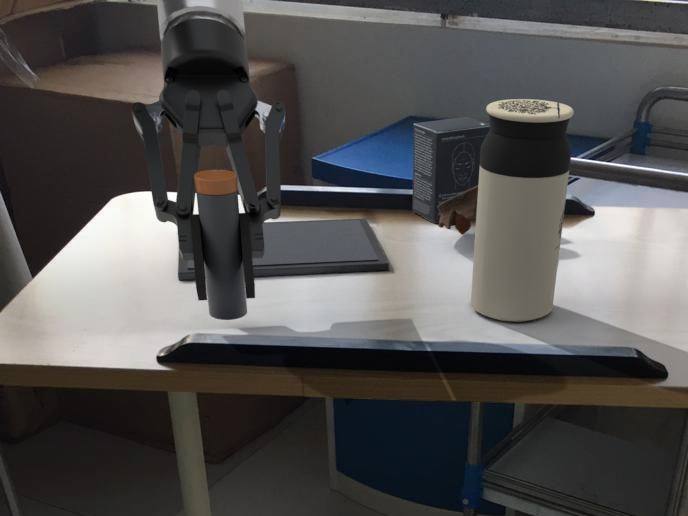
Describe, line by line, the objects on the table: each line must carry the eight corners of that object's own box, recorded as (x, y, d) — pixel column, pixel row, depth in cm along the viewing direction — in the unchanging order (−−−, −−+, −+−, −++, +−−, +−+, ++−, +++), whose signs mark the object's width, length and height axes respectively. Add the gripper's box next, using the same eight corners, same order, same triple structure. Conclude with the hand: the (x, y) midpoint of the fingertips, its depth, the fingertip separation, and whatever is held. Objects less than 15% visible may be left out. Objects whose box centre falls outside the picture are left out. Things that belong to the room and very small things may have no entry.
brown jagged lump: (481, 270, 96) (451, 197, 94) (445, 282, 105) (416, 214, 103) (567, 226, 100) (540, 154, 97) (525, 241, 108) (499, 174, 106)
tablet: (178, 280, 91) (177, 272, 90) (180, 232, 104) (179, 224, 103) (389, 270, 95) (389, 262, 94) (366, 224, 107) (366, 217, 107)
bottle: (209, 321, 79) (193, 180, 72) (208, 306, 82) (193, 169, 75) (248, 319, 80) (237, 179, 72) (246, 304, 82) (235, 168, 75)
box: (462, 204, 115) (467, 115, 109) (487, 216, 111) (493, 124, 105) (410, 212, 112) (412, 121, 105) (433, 224, 108) (437, 131, 102)
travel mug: (462, 318, 84) (475, 112, 74) (479, 289, 91) (493, 95, 80) (545, 328, 83) (571, 119, 72) (557, 298, 89) (581, 101, 78)
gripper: (295, 72, 84) (319, 306, 81) (115, 72, 81) (133, 314, 78) (297, 14, 77) (325, 269, 73) (100, 12, 74) (119, 276, 71)
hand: (226, 292), depth 76 cm, fingers closed on bottle, 3 cm apart
